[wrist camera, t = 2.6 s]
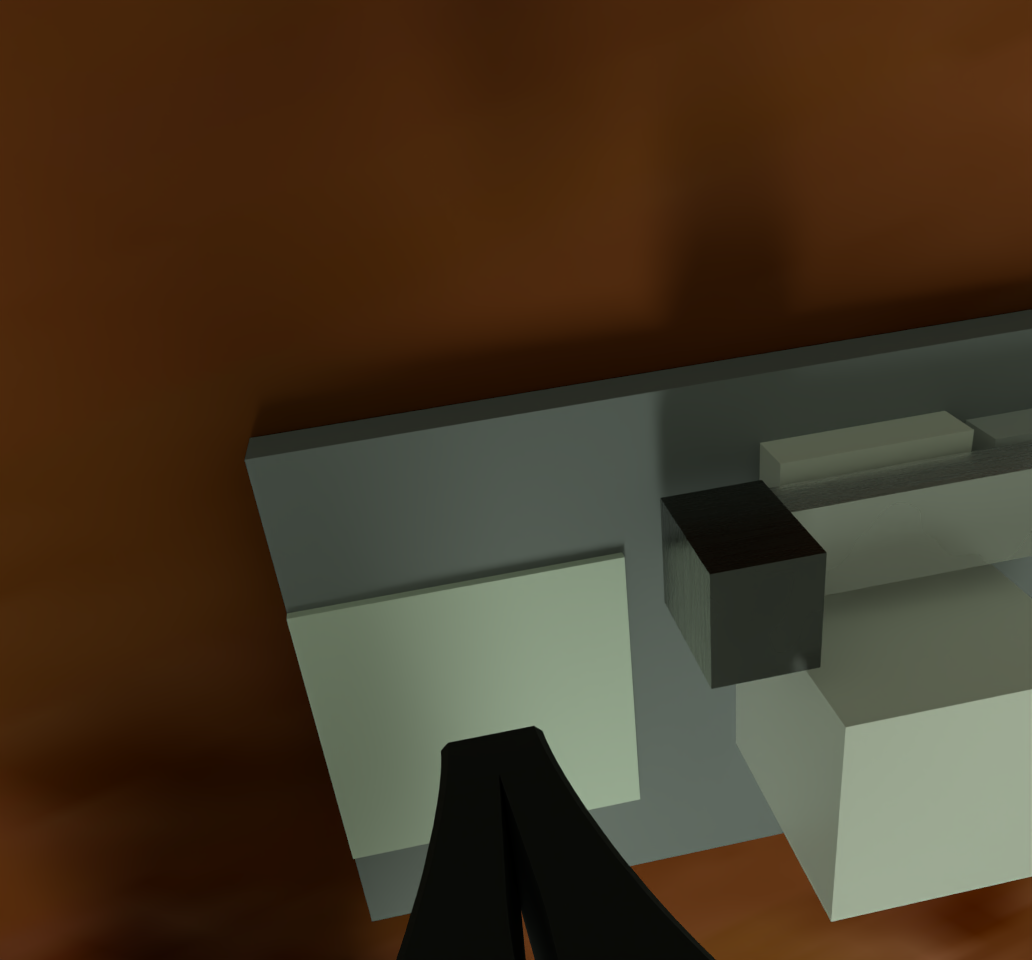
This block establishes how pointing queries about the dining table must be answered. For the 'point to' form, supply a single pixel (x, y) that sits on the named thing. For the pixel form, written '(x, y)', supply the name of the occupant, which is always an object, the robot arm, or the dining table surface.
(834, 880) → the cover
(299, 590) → the housing plate
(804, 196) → the dining table surface
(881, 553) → the bolt
